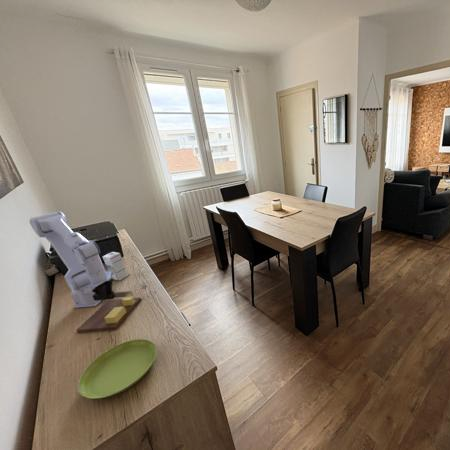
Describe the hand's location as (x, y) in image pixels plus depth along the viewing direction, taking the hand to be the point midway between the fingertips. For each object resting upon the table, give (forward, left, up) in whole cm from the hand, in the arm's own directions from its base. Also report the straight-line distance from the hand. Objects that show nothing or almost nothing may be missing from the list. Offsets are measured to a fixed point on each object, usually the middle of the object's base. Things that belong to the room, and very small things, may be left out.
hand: (107, 296), depth 104 cm
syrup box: (-14, +27, -7) cm, 32 cm away
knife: (+3, 0, -1) cm, 3 cm away
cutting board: (+2, -4, -7) cm, 8 cm away
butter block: (+7, -7, -6) cm, 12 cm away
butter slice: (+7, +1, -6) cm, 9 cm away
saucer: (+24, -32, -7) cm, 41 cm away
